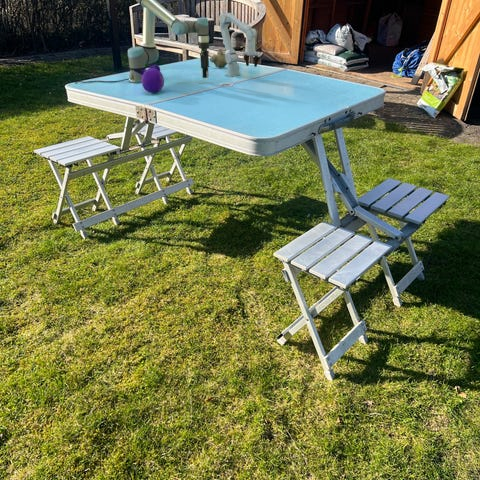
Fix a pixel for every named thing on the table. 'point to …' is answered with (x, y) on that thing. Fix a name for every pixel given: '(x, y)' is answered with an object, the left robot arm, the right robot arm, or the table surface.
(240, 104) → the table surface
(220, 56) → the teapot
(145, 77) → the toy
